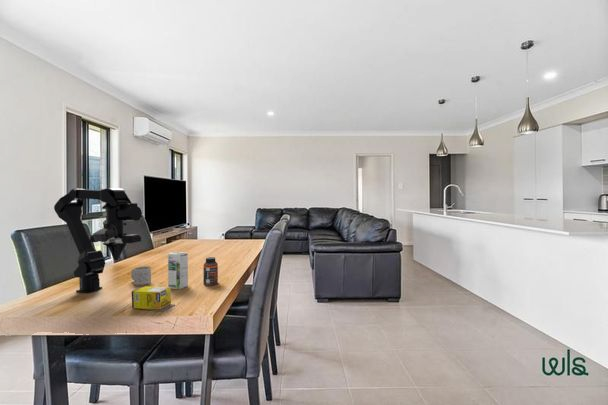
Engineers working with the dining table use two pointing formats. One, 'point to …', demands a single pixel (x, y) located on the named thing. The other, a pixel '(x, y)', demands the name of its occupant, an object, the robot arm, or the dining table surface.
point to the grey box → (141, 275)
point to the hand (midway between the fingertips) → (116, 260)
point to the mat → (163, 308)
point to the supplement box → (151, 297)
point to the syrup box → (177, 270)
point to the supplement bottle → (210, 271)
